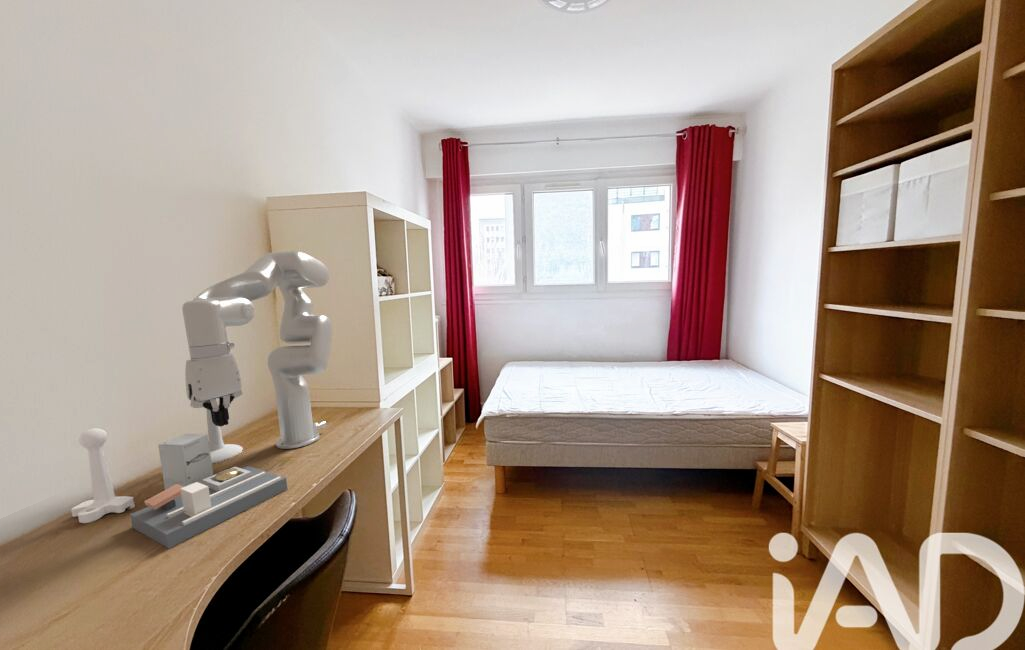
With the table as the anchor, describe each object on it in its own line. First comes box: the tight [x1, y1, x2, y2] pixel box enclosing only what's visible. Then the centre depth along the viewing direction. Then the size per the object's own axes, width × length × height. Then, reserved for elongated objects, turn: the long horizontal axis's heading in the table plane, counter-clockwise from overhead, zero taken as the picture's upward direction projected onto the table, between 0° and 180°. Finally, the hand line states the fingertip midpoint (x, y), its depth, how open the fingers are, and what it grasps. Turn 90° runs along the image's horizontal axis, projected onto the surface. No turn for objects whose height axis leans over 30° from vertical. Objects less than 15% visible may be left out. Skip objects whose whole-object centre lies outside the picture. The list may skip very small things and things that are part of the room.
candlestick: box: [205, 408, 244, 465], centre depth 120 cm, size 13×13×30 cm
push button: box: [215, 467, 238, 483], centre depth 98 cm, size 4×4×2 cm
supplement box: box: [158, 433, 214, 490], centre depth 103 cm, size 7×7×13 cm
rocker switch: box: [144, 484, 183, 510], centre depth 87 cm, size 6×4×1 cm
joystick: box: [70, 427, 136, 524], centre depth 90 cm, size 11×8×20 cm
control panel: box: [129, 465, 288, 549], centre depth 92 cm, size 24×17×4 cm
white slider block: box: [180, 482, 212, 516], centre depth 85 cm, size 3×5×5 cm, turn 62°
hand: (221, 424), depth 97 cm, fingers closed
